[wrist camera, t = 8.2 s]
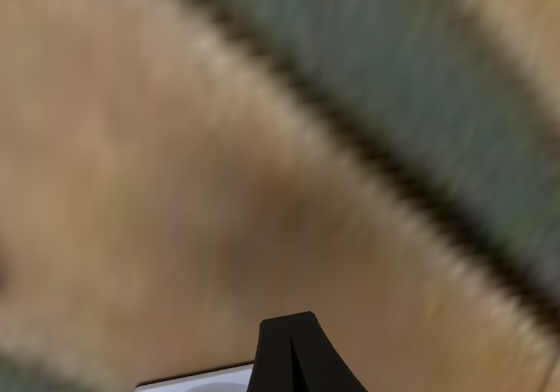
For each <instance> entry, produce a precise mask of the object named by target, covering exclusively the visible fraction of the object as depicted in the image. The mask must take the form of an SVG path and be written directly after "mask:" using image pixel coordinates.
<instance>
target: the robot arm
mask: <svg viewBox="0 0 560 392" xmlns="http://www.w3.org/2000/svg"><path fill="white" fill-rule="evenodd" d="M134 392H368V391H367V390H366V389H365V388H364V387H363V386H362V384H361V383H360V382H359V381H358V379H357V378H356V377H355V376H354V374H353V373H352V372H351V370H350V369H349V368H348V367H347V365H346V364H345V363H344V361H343V360H342V359H341V357H340V356H339V354H338V353H337V352H336V350H335V349H334V347H333V346H332V344H331V343H330V341H329V340H328V338H327V337H326V335H325V333H324V332H323V330H322V328H321V326H320V324H319V322H318V321H317V318H316V316H315V314H314V313H312V312H311V311H307V312H302V313H297V314H292V315H287V316H282V317H276V318H271V319H266V320H263V321H262V322H261V323H260V331H259V340H258V346H257V351H256V356H255V361H254V364H250V365H245V366H240V367H235V368H230V369H225V370H220V371H215V372H210V373H205V374H200V375H195V376H190V377H184V378H179V379H174V380H169V381H164V382H159V383H154V384H149V385H144V386H140V387H137V388H136V389H135V390H134Z"/></svg>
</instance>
